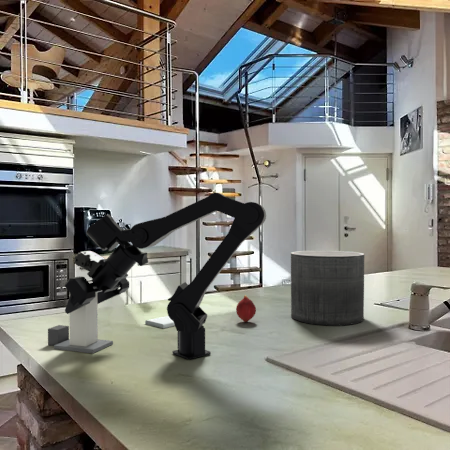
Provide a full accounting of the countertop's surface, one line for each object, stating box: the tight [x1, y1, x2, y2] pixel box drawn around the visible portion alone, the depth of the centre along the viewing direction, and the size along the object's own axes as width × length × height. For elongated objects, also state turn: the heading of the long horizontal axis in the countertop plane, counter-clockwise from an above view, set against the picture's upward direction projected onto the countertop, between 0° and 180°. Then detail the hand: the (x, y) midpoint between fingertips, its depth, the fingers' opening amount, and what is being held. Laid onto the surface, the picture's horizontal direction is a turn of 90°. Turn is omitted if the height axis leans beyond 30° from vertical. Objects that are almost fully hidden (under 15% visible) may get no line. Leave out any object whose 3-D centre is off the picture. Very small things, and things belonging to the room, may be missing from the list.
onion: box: [235, 294, 257, 323], centre depth 135 cm, size 6×6×8 cm
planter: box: [290, 250, 365, 327], centre depth 140 cm, size 22×22×20 cm
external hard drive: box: [144, 315, 175, 329], centre depth 135 cm, size 2×8×12 cm
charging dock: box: [47, 324, 114, 354], centre depth 110 cm, size 14×8×4 cm, turn 70°
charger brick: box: [68, 293, 99, 346], centre depth 110 cm, size 5×5×12 cm
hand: (78, 308), depth 110 cm, fingers open, 9 cm apart
